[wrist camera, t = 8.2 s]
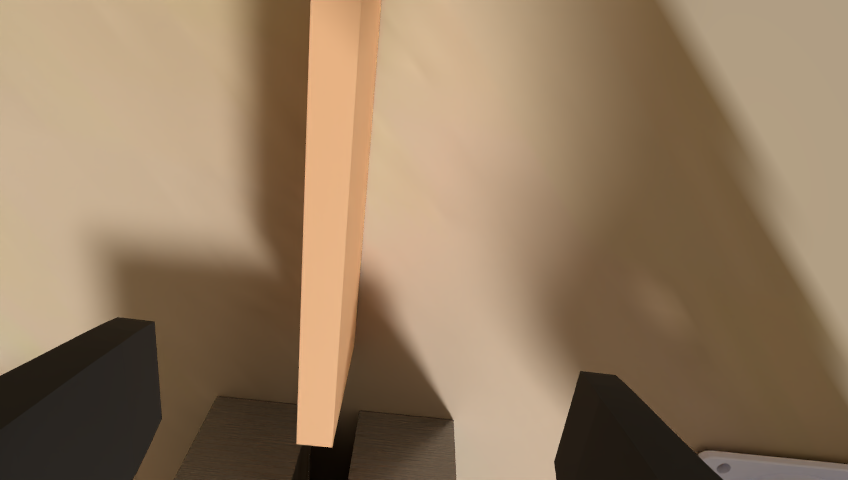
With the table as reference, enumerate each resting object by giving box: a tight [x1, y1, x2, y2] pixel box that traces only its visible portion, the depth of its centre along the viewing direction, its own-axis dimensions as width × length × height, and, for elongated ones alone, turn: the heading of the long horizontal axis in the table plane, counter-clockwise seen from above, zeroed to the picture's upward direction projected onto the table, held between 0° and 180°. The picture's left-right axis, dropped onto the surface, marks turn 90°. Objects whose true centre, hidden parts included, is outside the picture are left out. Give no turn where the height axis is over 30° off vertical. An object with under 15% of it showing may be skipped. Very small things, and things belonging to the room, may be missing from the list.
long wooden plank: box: [296, 0, 381, 447], centre depth 16 cm, size 1×12×5 cm, turn 173°
